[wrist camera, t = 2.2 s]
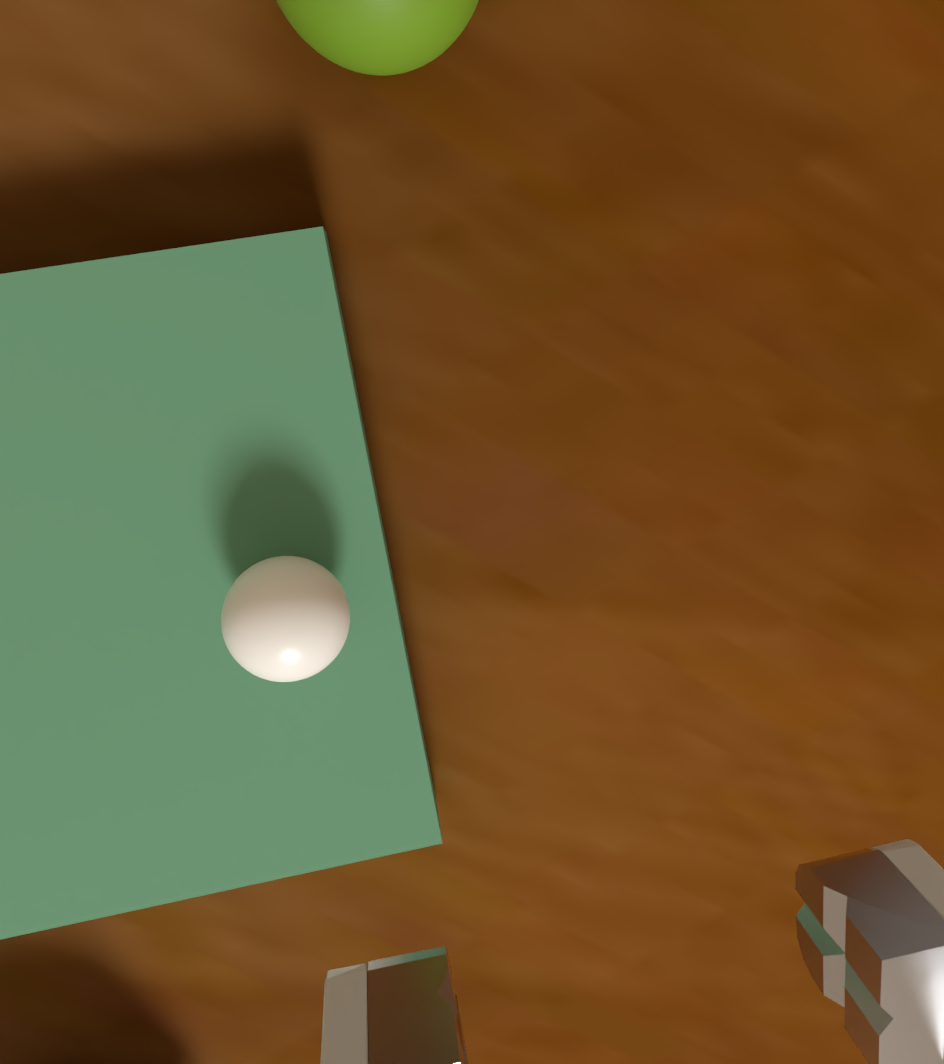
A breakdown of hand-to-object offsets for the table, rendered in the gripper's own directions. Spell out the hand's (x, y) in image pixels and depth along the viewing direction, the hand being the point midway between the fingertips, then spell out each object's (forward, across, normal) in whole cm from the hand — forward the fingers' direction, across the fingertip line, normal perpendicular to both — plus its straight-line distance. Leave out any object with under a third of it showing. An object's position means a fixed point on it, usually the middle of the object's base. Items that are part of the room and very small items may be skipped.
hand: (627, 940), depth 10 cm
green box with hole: (+17, +12, 0) cm, 21 cm away
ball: (+13, +6, 0) cm, 14 cm away
